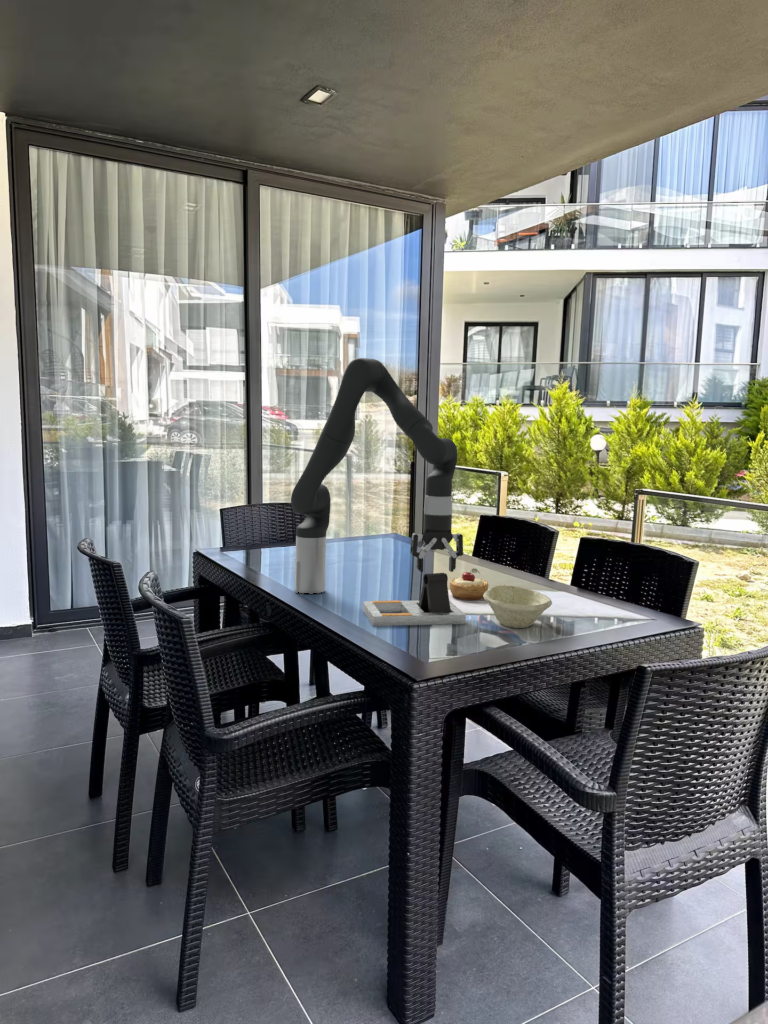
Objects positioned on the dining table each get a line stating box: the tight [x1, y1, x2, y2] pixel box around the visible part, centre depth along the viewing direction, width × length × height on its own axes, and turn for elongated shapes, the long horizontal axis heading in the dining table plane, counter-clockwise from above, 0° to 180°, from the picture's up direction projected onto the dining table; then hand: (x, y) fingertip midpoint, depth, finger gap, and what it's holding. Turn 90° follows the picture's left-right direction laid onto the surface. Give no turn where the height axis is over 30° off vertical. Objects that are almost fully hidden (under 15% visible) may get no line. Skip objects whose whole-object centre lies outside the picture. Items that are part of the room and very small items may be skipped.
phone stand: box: [418, 572, 451, 613], centre depth 201 cm, size 9×6×12 cm, turn 25°
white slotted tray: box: [362, 599, 467, 627], centre depth 200 cm, size 25×16×3 cm, turn 101°
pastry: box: [449, 568, 489, 601], centre depth 226 cm, size 12×12×9 cm
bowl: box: [483, 584, 553, 629], centre depth 195 cm, size 14×18×15 cm
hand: (436, 571), depth 200 cm, fingers open, 8 cm apart
